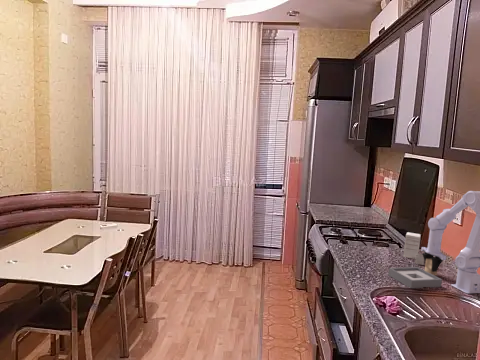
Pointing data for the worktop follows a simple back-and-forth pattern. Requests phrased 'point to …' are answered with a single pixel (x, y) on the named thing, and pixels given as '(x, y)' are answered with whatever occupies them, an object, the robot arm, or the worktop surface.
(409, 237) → the supplement box
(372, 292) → the worktop surface
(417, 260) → the translucent grey slab
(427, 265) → the peg
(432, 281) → the hole box
